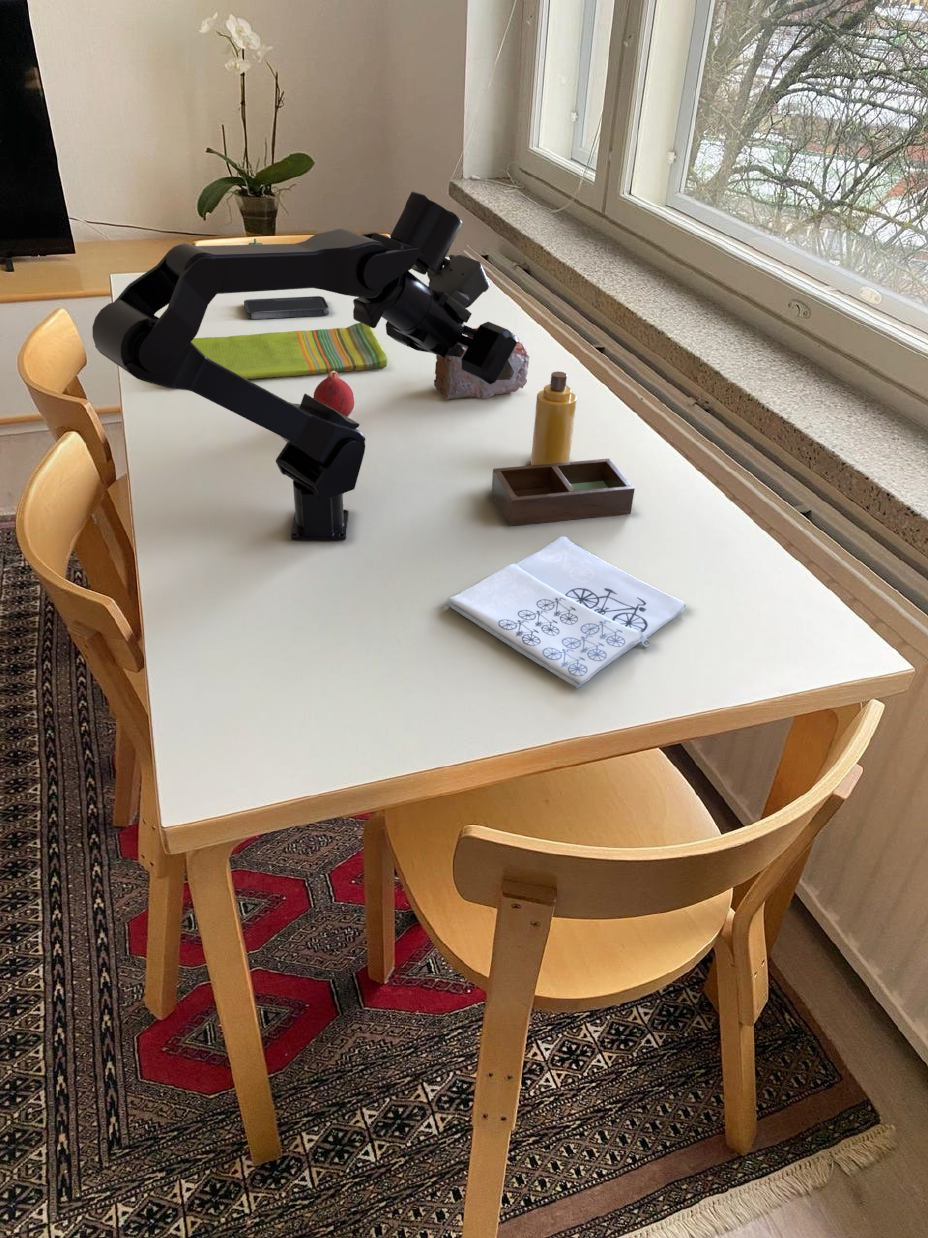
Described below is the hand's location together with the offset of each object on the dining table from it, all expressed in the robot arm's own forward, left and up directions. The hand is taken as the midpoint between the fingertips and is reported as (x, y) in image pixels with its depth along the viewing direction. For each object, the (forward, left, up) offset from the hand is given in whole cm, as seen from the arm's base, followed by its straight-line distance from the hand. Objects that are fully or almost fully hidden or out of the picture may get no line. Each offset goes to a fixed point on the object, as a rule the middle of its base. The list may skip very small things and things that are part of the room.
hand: (486, 364), depth 118 cm
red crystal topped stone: (+26, -2, -15) cm, 29 cm away
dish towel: (+36, +32, -15) cm, 50 cm away
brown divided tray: (-10, -10, -14) cm, 20 cm away
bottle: (+1, -10, -14) cm, 17 cm away
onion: (+12, +20, -14) cm, 28 cm away
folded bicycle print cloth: (-33, -8, -14) cm, 37 cm away
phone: (+62, +32, -14) cm, 71 cm away
